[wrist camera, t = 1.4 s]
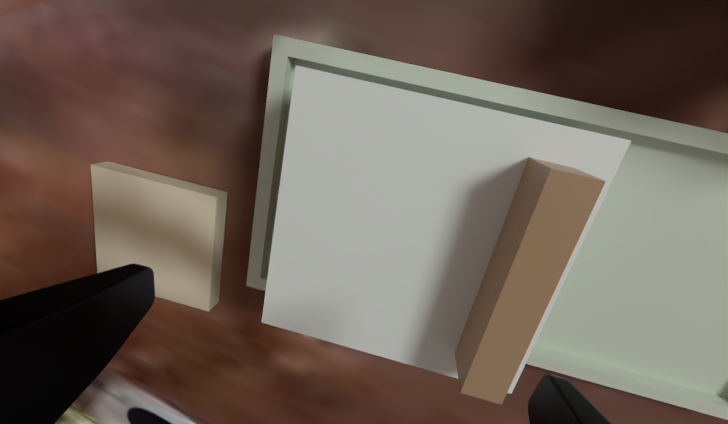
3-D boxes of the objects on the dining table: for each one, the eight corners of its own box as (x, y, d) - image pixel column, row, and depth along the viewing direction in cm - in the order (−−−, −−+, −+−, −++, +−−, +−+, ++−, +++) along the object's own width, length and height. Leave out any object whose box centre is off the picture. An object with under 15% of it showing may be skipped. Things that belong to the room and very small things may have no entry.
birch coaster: (218, 301, 23) (208, 311, 22) (112, 271, 24) (97, 279, 23) (227, 192, 21) (216, 197, 20) (107, 161, 21) (90, 164, 20)
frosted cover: (491, 330, 20) (525, 438, 13) (293, 276, 21) (238, 354, 14) (574, 129, 16) (677, 149, 10) (326, 74, 17) (271, 58, 10)
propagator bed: (722, 400, 20) (746, 425, 19) (257, 273, 22) (246, 285, 21) (894, 173, 15) (945, 181, 14) (286, 39, 18) (273, 34, 16)
